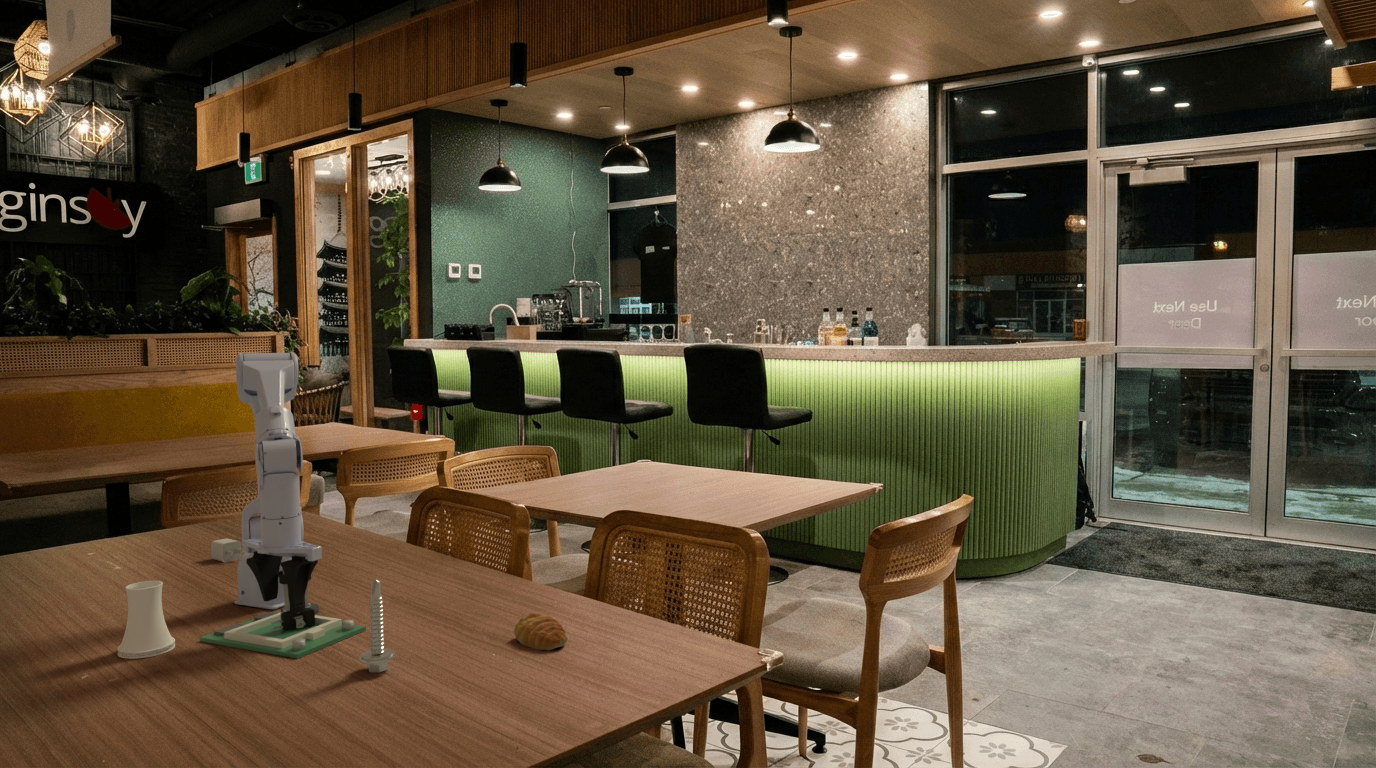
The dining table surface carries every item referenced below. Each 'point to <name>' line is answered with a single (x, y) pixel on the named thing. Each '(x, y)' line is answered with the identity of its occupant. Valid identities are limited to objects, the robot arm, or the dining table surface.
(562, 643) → the pastry
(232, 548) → the usb wall charger
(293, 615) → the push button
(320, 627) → the circuit board
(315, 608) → the dark gray round disc
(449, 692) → the dining table surface
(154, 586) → the cooling tower
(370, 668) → the screw
